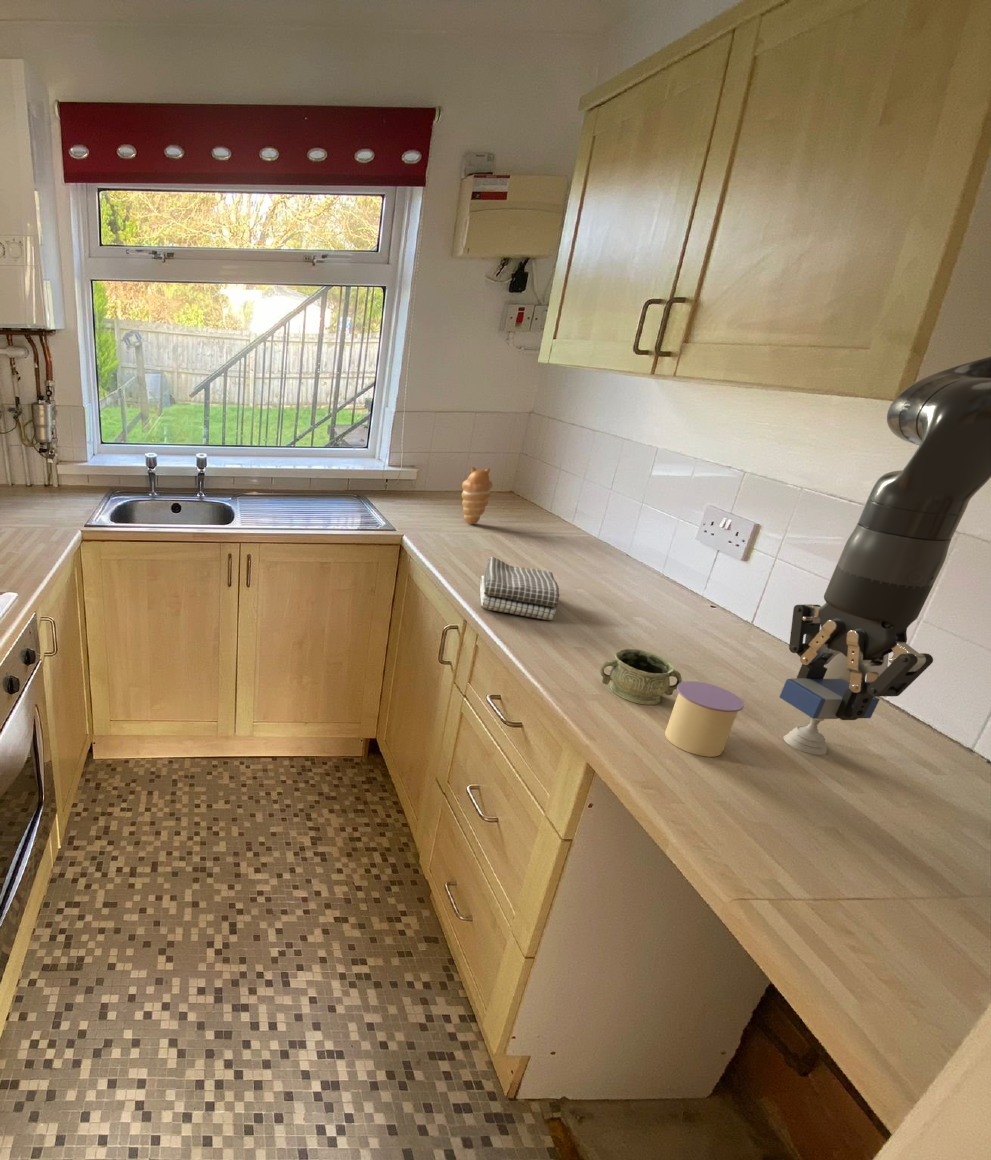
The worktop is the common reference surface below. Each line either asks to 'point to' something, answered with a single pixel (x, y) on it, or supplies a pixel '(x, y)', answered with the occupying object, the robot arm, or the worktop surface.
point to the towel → (518, 590)
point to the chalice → (810, 735)
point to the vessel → (640, 676)
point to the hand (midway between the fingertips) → (824, 704)
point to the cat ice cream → (476, 494)
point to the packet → (819, 696)
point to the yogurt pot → (702, 718)
